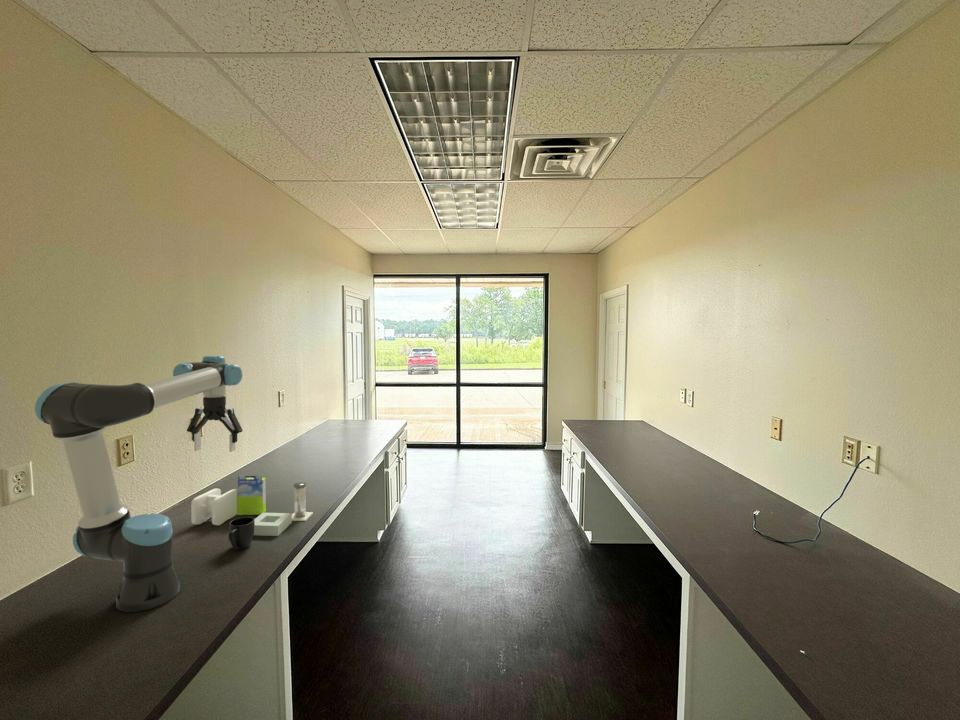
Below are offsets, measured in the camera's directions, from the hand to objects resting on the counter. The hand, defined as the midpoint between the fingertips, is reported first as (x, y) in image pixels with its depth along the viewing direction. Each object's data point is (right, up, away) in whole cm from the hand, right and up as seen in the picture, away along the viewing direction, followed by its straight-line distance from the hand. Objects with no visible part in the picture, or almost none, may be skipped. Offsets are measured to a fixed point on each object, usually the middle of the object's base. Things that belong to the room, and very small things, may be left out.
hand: (215, 450), depth 171 cm
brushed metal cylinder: (+25, -32, +18) cm, 45 cm away
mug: (+15, -34, -10) cm, 39 cm away
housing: (+18, -33, +7) cm, 38 cm away
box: (+3, -32, +21) cm, 38 cm away
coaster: (+25, -32, +18) cm, 45 cm away
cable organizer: (-8, -32, +13) cm, 35 cm away
